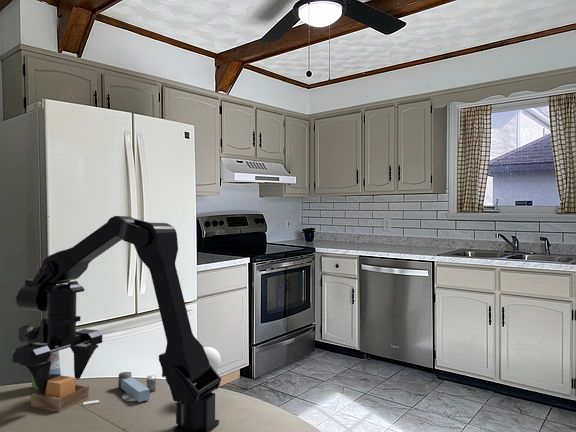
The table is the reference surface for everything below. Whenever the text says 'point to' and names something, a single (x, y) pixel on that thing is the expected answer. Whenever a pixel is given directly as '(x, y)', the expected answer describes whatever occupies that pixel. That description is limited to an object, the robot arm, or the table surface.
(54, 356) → the printed food package
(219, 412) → the table surface
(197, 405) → the robot arm
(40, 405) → the tray
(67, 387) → the block
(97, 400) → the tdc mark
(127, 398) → the plate
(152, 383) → the post
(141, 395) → the crank
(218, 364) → the lightbulb
